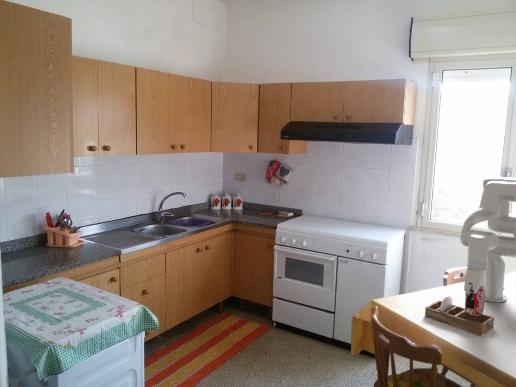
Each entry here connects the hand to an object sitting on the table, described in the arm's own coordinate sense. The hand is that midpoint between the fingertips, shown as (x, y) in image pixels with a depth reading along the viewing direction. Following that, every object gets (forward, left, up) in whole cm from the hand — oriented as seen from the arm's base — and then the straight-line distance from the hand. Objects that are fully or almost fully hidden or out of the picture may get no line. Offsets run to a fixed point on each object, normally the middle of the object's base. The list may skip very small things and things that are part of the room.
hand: (474, 305), depth 181 cm
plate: (0, -12, -10) cm, 15 cm away
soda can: (0, 0, -4) cm, 4 cm away
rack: (0, -6, -10) cm, 11 cm away
